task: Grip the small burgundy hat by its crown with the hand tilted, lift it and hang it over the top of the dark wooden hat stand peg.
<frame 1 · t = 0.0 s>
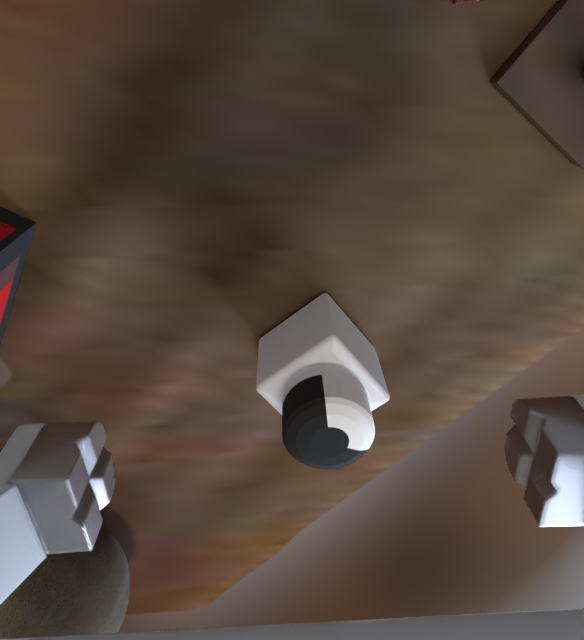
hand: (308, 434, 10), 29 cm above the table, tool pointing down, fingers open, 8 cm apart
grey stone ball: (74, 530, 54), on the table
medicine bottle: (317, 342, 44), on the table
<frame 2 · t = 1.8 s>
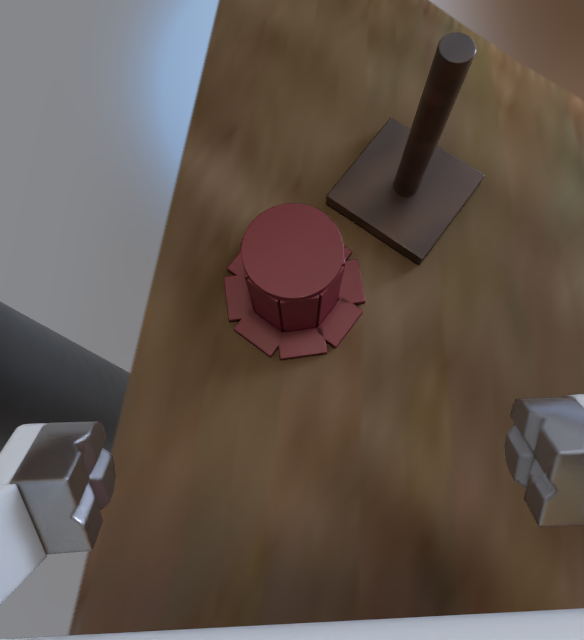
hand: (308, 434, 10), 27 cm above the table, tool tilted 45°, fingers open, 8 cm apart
hat stand: (403, 192, 42), on the table
hat: (294, 291, 40), on the table
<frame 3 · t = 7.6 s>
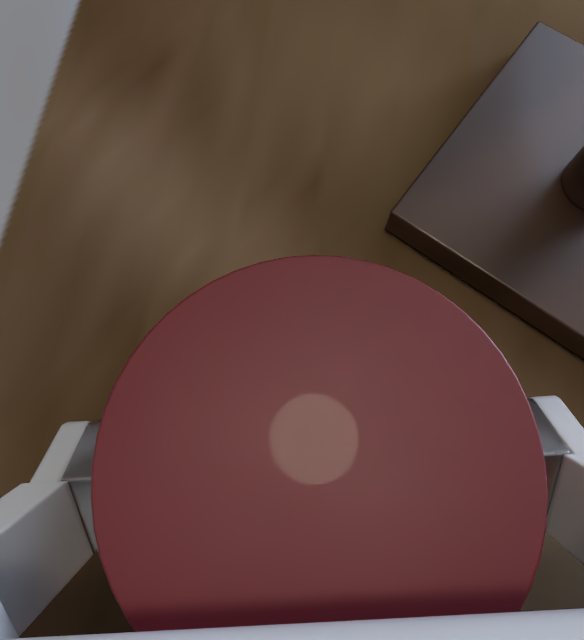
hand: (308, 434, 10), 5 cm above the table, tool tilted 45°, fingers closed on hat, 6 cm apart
hat stand: (574, 203, 17), on the table
hat: (309, 467, 15), on the table, touching gripper
when the fingers open (13 cm above the table, at t = 17.0 s): hat stays where it is, resting on hat stand.
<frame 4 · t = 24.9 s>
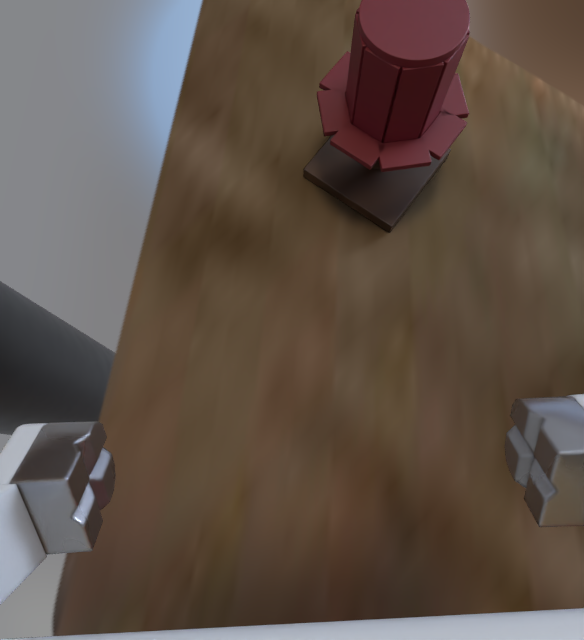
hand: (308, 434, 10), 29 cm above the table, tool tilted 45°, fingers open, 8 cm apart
hat stand: (375, 166, 45), on the table
hat: (391, 106, 38), point 8 cm above the table, touching hat stand
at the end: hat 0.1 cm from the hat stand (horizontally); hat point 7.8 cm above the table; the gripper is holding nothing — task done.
